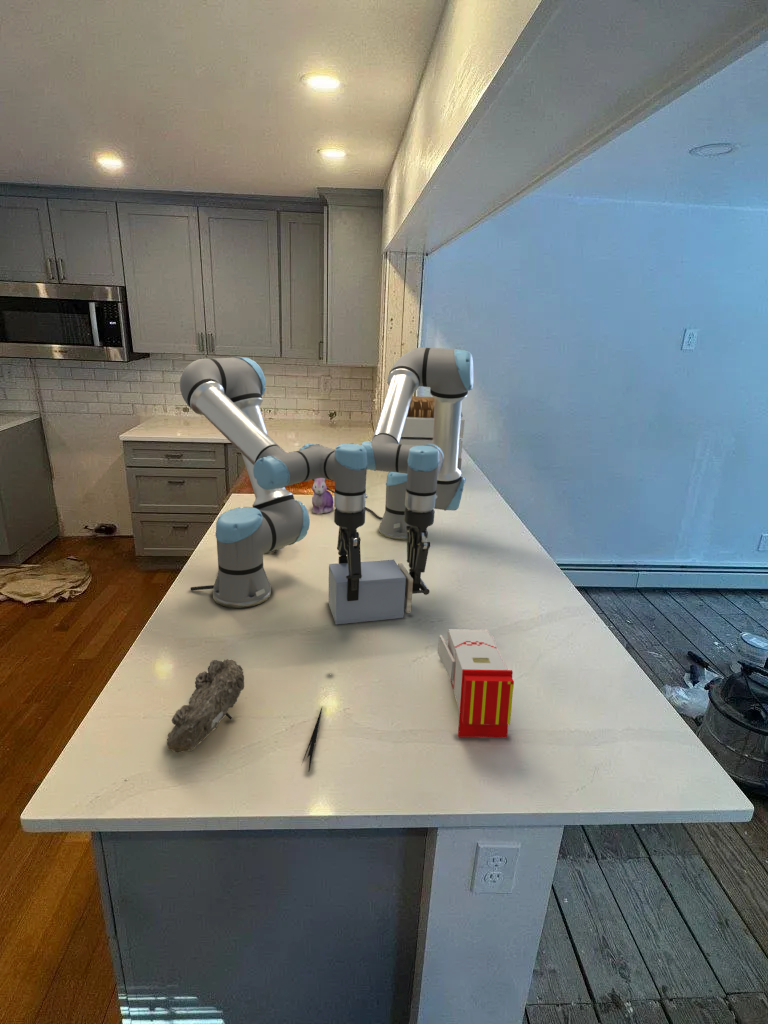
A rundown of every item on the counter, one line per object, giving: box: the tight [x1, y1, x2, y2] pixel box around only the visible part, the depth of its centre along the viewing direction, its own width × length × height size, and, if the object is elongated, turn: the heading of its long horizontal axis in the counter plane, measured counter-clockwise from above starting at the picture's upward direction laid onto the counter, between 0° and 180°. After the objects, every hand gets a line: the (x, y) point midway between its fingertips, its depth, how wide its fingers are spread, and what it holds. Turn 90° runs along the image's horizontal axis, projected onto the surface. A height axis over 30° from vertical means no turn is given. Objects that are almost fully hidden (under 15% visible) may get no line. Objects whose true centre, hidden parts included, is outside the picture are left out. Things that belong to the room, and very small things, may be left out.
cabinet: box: [327, 559, 406, 625], centre depth 147 cm, size 18×11×12 cm, turn 105°
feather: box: [301, 673, 332, 771], centre depth 108 cm, size 2×28×2 cm
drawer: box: [397, 562, 430, 614], centre depth 148 cm, size 22×10×10 cm, turn 105°
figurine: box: [311, 478, 334, 515], centre depth 216 cm, size 9×10×15 cm
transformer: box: [399, 395, 465, 472], centre depth 268 cm, size 34×33×41 cm
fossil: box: [166, 658, 245, 754], centre depth 106 cm, size 22×10×15 cm
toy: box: [437, 628, 515, 738], centre depth 117 cm, size 12×13×30 cm
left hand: (348, 589), depth 145 cm, fingers closed on cabinet, 11 cm apart
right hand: (413, 591), depth 150 cm, fingers closed
